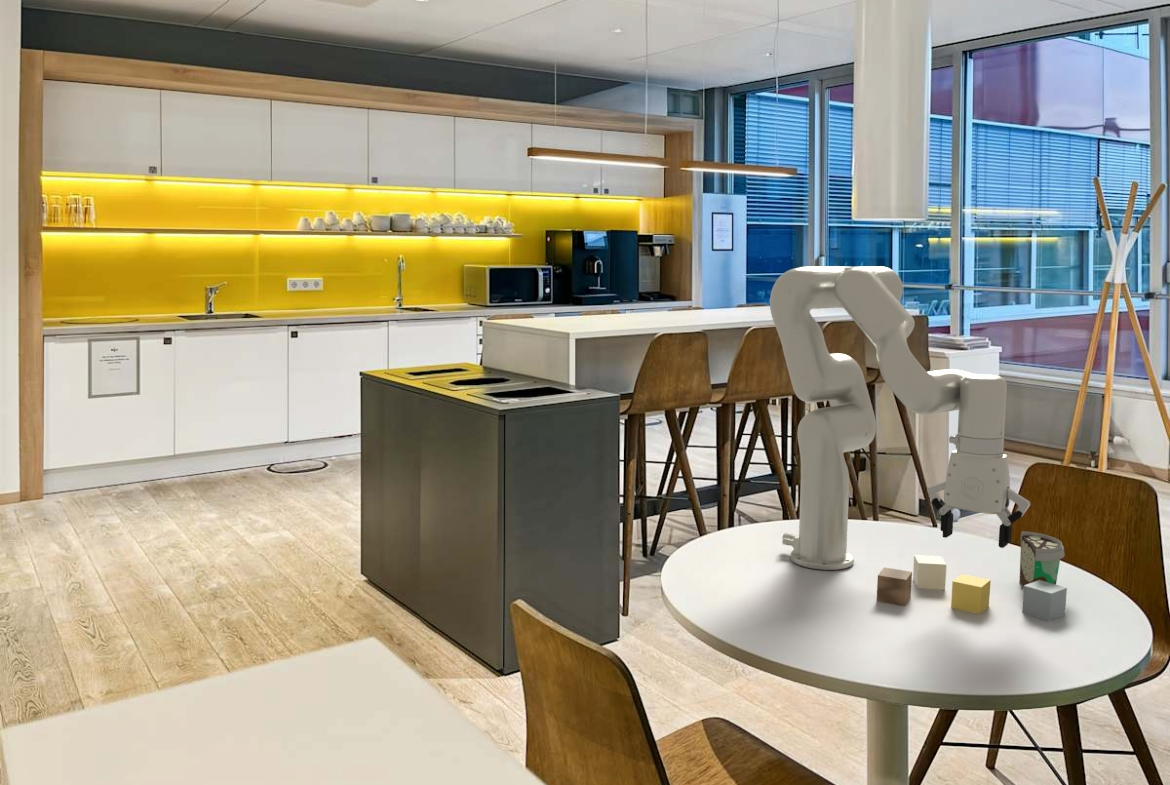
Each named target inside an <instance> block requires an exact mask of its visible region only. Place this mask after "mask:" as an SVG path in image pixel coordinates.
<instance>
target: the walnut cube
mask: <svg viewBox="0 0 1170 785" xmlns="http://www.w3.org/2000/svg"><path fill="white" fill-rule="evenodd" d="M912 581H913V571H909V570H902V569H896V568H890V567H883V568H882V569H881V571H880V572H879V573H878V574H877V585H876V602H879V603H883V604H884V603H885V604H890V605H895V606H902V607H906V605H907V604H908V603H909V601H910V599H911V597H912Z"/></svg>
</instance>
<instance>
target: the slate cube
mask: <svg viewBox="0 0 1170 785" xmlns="http://www.w3.org/2000/svg"><path fill="white" fill-rule="evenodd" d="M1067 590H1068V588H1067V587H1065V586H1063V585H1059V584H1057V583H1056V584H1052V583H1049V582H1045V581H1041V580H1038V581H1035V582H1032V583H1029V584H1027V585H1024V589H1023V593H1022V596H1023V597H1022V608H1021V612H1022V613H1024V614H1026V615H1029V616H1032V617H1036V618H1038V619H1040V620H1046V621H1047V622H1051V621H1054V620H1056V619H1058V618H1060V617H1063V616H1065V614H1066V605H1067V593H1068V592H1067Z"/></svg>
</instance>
